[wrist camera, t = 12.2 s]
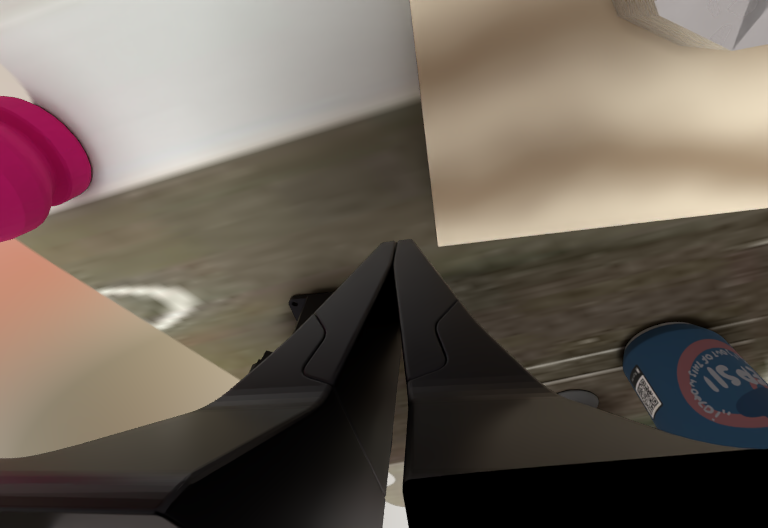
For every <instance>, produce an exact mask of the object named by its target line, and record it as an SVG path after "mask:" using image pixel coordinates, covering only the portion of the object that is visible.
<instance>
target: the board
mask: <svg viewBox="0 0 768 528" xmlns="http://www.w3.org/2000/svg"><path fill="white" fill-rule="evenodd" d="M410 8H411V17H412V25H413V34H414V43H415V51H416V60H417V68H418V77H419V86H420V94H421V103H422V112H423V120H424V129H425V137H426V146H427V155H428V163H429V172H430V180H431V189H432V198H433V206H434V215H435V223H436V232H437V241H438V247H439V246H448V245H456V244H465V243H473V242H482V241H490V240H499V239H507V238H516V237H524V236H533V235H541V234H550V233H558V232H566V231H575V230H583V229H592V228H600V227H609V226H617V225H626V224H634V223H643V222H651V221H660V220H668V219H677V218H685V217H694V216H702V215H711V214H719V213H728V212H736V211H745V210H753V209H762V208H768V44H766V45H761V46H756V47H751V48H745V49H740V50H735V51H727V50H717V49H707V48H697V47H687V46H679V45H677V44H675V43H673V42H671V41H668V40H666V39H664V38H662V37H660V36H658V35H656V34H654V33H652V32H650V31H648V30H646V29H643V28H641V27H639V26H637V25H635V24H633V23H631V22H629V21H627V20H625V19H623V18H621V17H618V16H617V13H616V11H615V8H614V6H613V3H612V0H410Z"/></svg>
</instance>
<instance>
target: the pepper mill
mask: <svg viewBox="0 0 768 528" xmlns="http://www.w3.org/2000/svg"><path fill="white" fill-rule="evenodd" d="M90 181H91V166H90V163H89V160H88V157H87V155H86V153H85V151H84V149H83V148H82V146H81V144H80V143H79V141H78V140H77V139H76V137H75V136H74V135H73V134H72V133H71V132H70V131H69V130H68V129H67V127H66V126H65V125H64V124H62V123H61V122H60V121H59V120H58V119H57V118H55V117H54V116H53V115H51V114H50V113H48V112H46V111H45V110H43V109H42V108H40V107H39V106H37V105H34V104H32V103H30V102H27V101H24V100H22V99H19V98H15V97H7V96H0V242H3V241H7V240H11V239H13V238H16V237H18V236H20V235H22V234H24V233H27V232H29V231H31V230H33V229H35V228H37V227H38V226H39V225H40V224H42V223H43V222H44V220H45V219H46V218H47V216H48V214H49V211H50V208H51V206H57V205H60V204H62V203H64V202H66V201H68V200H70V199H72V198H74V197H76V196H78V195H80V194H81V193H83V192H84V191H85V190H86V189H87V187H88V186H89V184H90Z"/></svg>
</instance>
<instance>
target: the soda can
mask: <svg viewBox="0 0 768 528" xmlns="http://www.w3.org/2000/svg"><path fill="white" fill-rule="evenodd" d="M623 370H624V373H625V375H626V377H627V378H628V380H629V382H630V383H631V385H632V387H633V388H634V390H635V392H636V393H637V395H638V397H639V398H640V400H641V402H642V403H643V405H644V407H645V408H646V410H647V412H648V413H649V415H650V417H651V418H652V420H653V422H654V423H655V425H656V427H657V429H659V430H662V431H665V432H668V433H671V434H674V435H678V436H681V437H685V438H688V439H692V440H697V441H701V442H706V443H711V444H715V445H722V446H729V447H737V448H753V449H768V384H767V383H766V382H765V381H764V380H763V379H762V378H761V377H760V376H759V375H758V374H757V373H756V372H755V370H754V369H753V368H752V367H751V366H750V365H749V364H748V363H747V362H746V361H745V360H744V359H743V358H742V357H741V356H740V355H739V354H738V353H737V352H736V351H735V350H734V349H733V348H732V347H731V346H730V345H729V344H728V343H727V341H726V340H725V339H724V338H723V337H722V336H720V335H719V334H717V333H715V332H713V331H711V330H708V329H705V328H703V327H699V326H696V325H693V324H690V323H685V322H669V323H663V324H659V325H655V326H652V327H650V328H647V329H645V330H643V331H641V332H640V333H638V334H637V335H635V336H634V337H633V338H632V339H631V340H630V341H629V342H628V344H627V345H626V347H625V351H624V357H623Z"/></svg>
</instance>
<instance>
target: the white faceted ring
mask: <svg viewBox="0 0 768 528" xmlns="http://www.w3.org/2000/svg"><path fill="white" fill-rule="evenodd" d="M612 3H613V6H614V8H615V11H616V13H617V16H618V17H621V18H623V19H625V20H627V21H629V22H631V23H633V24H635V25H637V26H639V27H641V28H643V29H646V30H648V31H650V32H652V33H654V34H656V35H658V36H660V37H662V38H664V39H666V40H668V41H671V42H673V43H675V44H677V45H679V46H687V47H697V48H707V49H717V50H727V51H735V50H740V49H745V48H751V47H756V46H761V45H766V44H768V0H612Z"/></svg>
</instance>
